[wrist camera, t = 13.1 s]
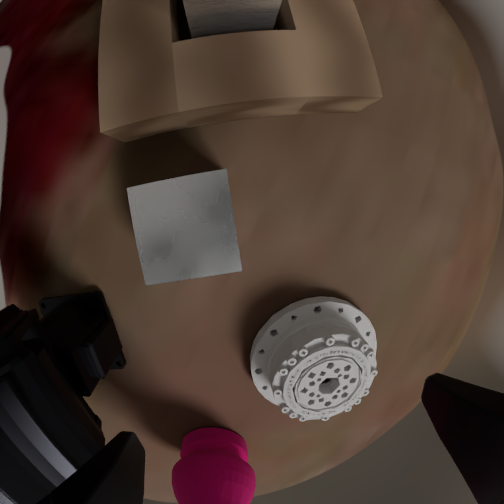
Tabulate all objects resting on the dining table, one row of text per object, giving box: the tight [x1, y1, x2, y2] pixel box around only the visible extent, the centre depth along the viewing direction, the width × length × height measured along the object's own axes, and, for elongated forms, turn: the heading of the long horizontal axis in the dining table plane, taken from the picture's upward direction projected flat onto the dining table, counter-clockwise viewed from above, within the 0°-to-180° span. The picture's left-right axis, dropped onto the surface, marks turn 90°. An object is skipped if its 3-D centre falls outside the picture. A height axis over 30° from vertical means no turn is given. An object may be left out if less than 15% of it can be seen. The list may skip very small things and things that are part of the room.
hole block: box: [98, 0, 383, 143], centre depth 14 cm, size 16×16×4 cm
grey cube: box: [127, 169, 242, 285], centre depth 16 cm, size 5×5×5 cm
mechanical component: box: [250, 296, 378, 421], centre depth 19 cm, size 10×4×10 cm
